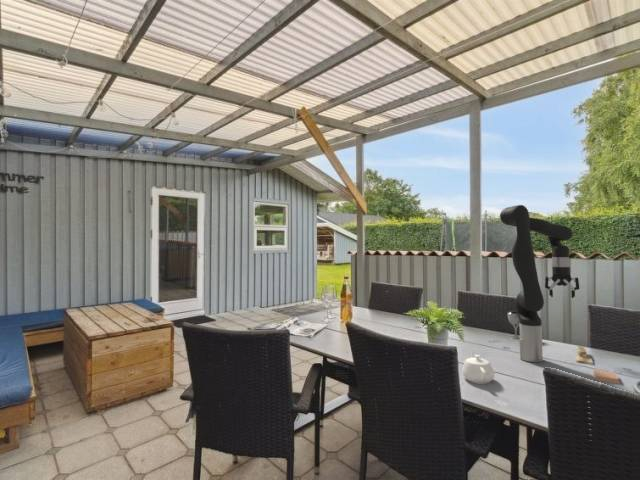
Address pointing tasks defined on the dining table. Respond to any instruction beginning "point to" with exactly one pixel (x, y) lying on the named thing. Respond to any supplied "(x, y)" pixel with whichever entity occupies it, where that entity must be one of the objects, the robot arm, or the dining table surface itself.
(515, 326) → the wine glass
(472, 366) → the teapot
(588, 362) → the turner
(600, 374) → the tile
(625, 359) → the dining table surface
